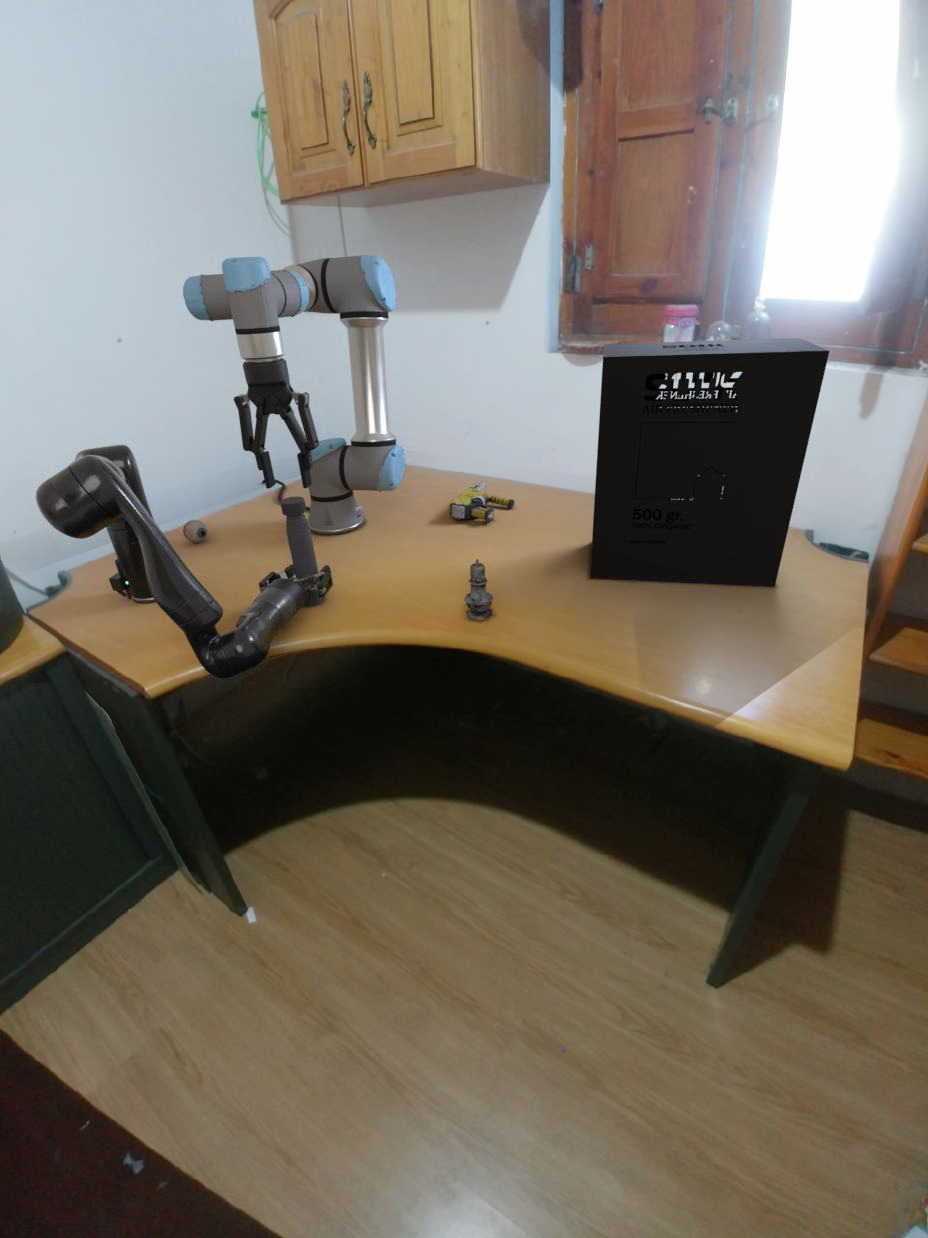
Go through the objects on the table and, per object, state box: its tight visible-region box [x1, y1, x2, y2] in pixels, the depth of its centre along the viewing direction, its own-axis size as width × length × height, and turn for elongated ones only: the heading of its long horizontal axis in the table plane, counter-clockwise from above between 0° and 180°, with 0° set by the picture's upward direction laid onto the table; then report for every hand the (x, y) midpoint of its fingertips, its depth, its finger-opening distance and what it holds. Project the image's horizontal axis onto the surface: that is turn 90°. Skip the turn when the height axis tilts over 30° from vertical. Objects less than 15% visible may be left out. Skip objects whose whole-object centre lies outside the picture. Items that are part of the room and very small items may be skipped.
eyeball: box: [182, 519, 208, 544], centre depth 162 cm, size 6×6×6 cm
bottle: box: [285, 513, 324, 607], centre depth 125 cm, size 5×5×22 cm
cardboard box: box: [589, 337, 830, 587], centre depth 126 cm, size 38×20×45 cm, turn 78°
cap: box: [279, 495, 307, 517], centre depth 120 cm, size 5×5×2 cm
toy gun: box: [448, 481, 515, 523], centre depth 173 cm, size 5×24×15 cm
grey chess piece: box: [463, 559, 494, 621], centre depth 118 cm, size 6×6×12 cm
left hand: (310, 568), depth 129 cm, fingers open, 7 cm apart
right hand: (289, 485), depth 118 cm, fingers open, 7 cm apart
